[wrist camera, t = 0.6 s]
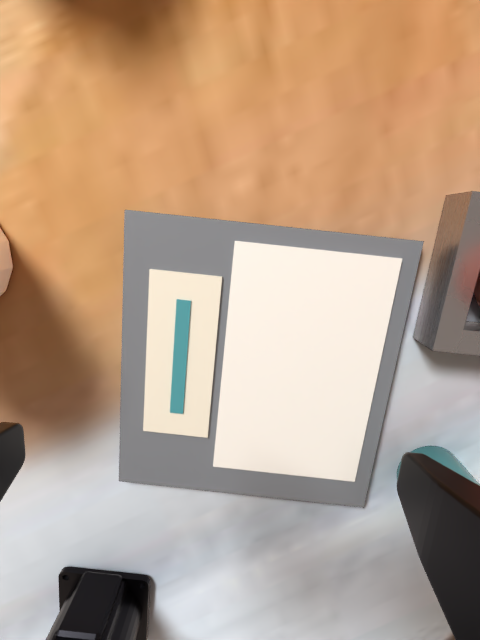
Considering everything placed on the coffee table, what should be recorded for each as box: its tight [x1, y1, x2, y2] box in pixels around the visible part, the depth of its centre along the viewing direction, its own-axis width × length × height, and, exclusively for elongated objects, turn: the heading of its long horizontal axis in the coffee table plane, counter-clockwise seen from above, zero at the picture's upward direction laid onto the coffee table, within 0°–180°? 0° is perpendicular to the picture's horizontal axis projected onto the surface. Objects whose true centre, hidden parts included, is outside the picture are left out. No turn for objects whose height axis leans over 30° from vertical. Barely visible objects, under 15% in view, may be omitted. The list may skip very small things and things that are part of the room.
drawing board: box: [119, 210, 424, 508], centre depth 22 cm, size 17×16×1 cm
